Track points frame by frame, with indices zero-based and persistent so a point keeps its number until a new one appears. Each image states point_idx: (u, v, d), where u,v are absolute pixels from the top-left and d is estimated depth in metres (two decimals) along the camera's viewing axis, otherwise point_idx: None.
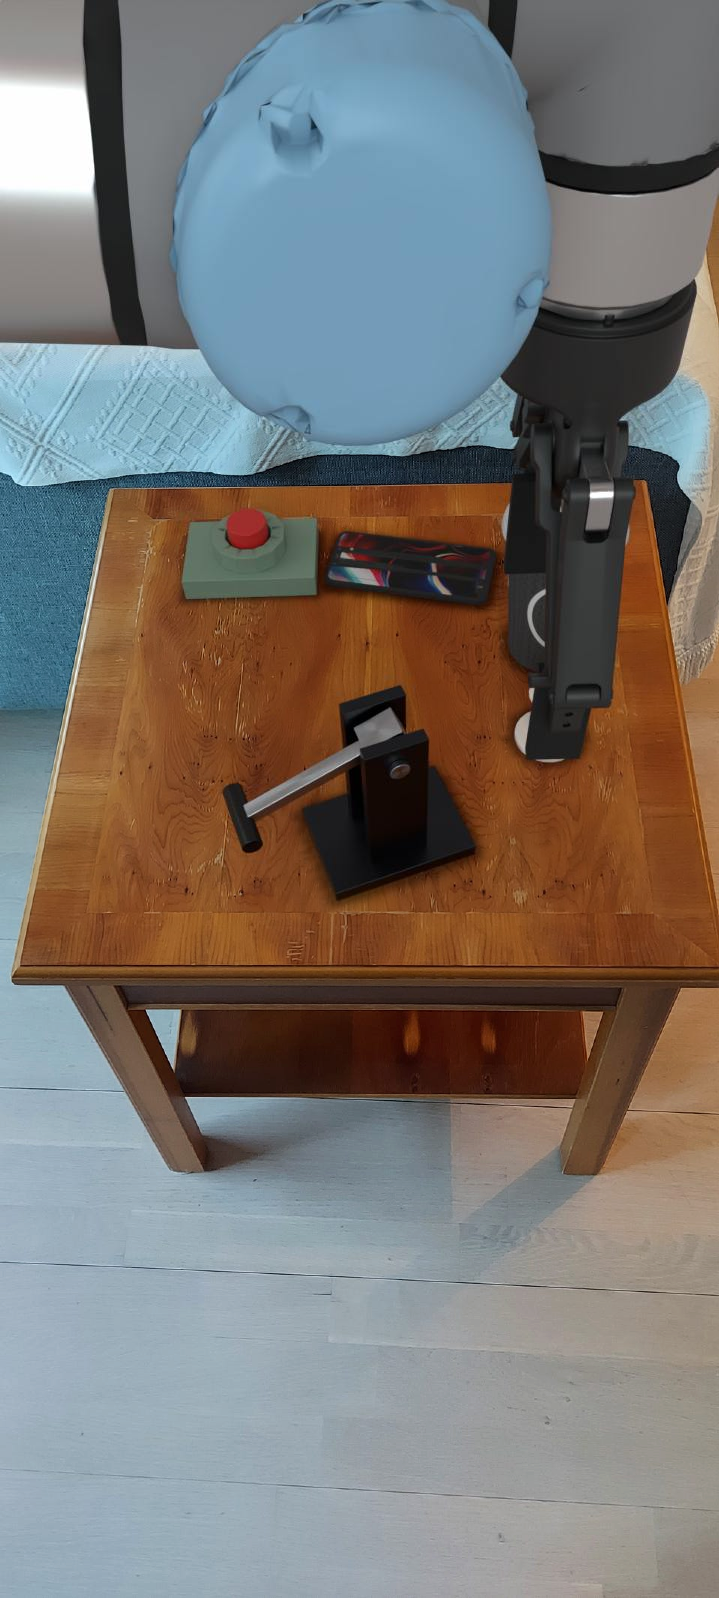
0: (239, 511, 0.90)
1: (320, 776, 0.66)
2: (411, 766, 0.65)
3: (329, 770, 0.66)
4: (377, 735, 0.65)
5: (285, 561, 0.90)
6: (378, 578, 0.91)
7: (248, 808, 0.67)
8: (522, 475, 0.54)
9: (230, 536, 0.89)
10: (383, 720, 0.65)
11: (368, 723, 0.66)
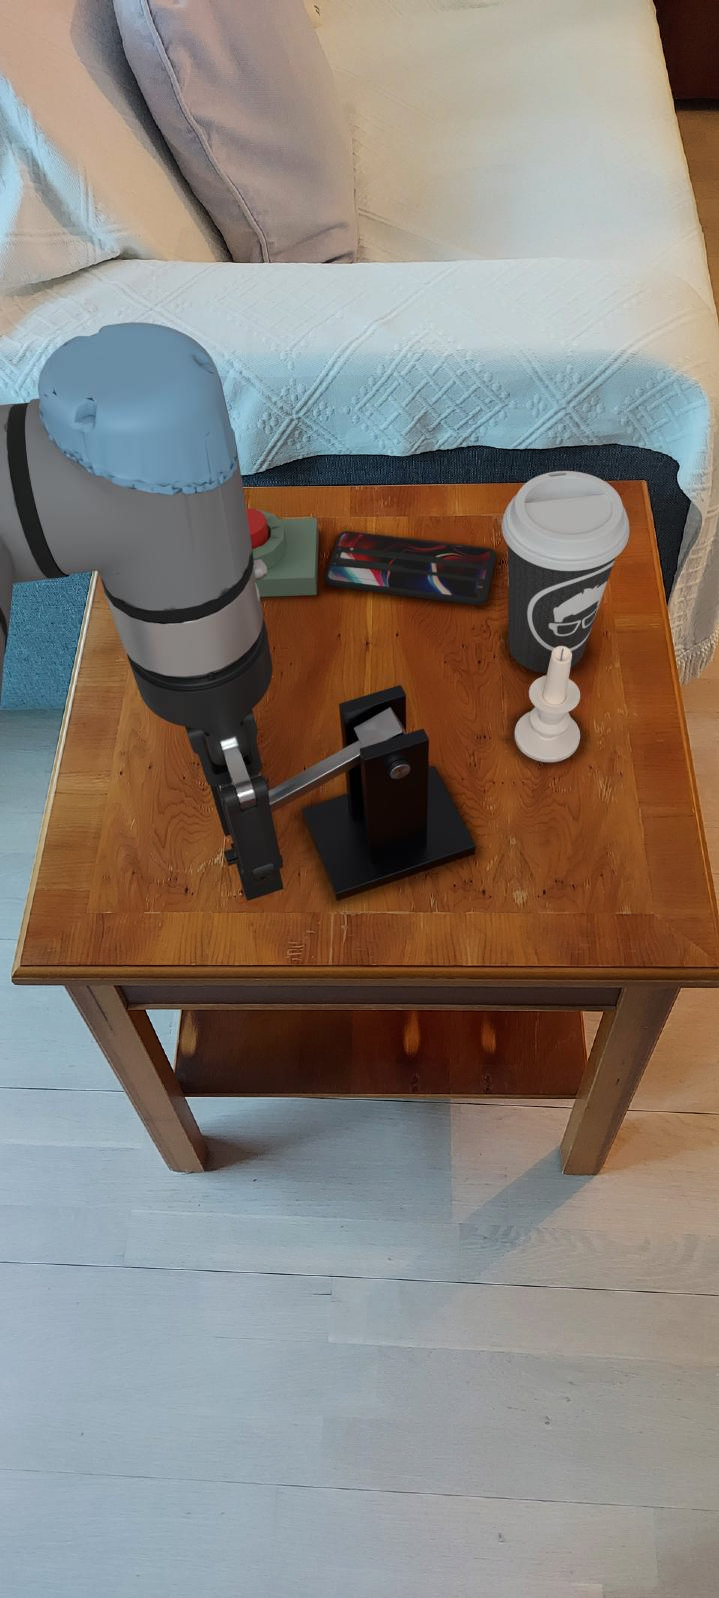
0: None
1: (320, 776, 0.66)
2: (411, 766, 0.65)
3: (329, 770, 0.66)
4: (377, 735, 0.65)
5: (285, 561, 0.90)
6: (378, 578, 0.91)
7: None
8: None
9: None
10: (383, 720, 0.65)
11: (368, 723, 0.66)
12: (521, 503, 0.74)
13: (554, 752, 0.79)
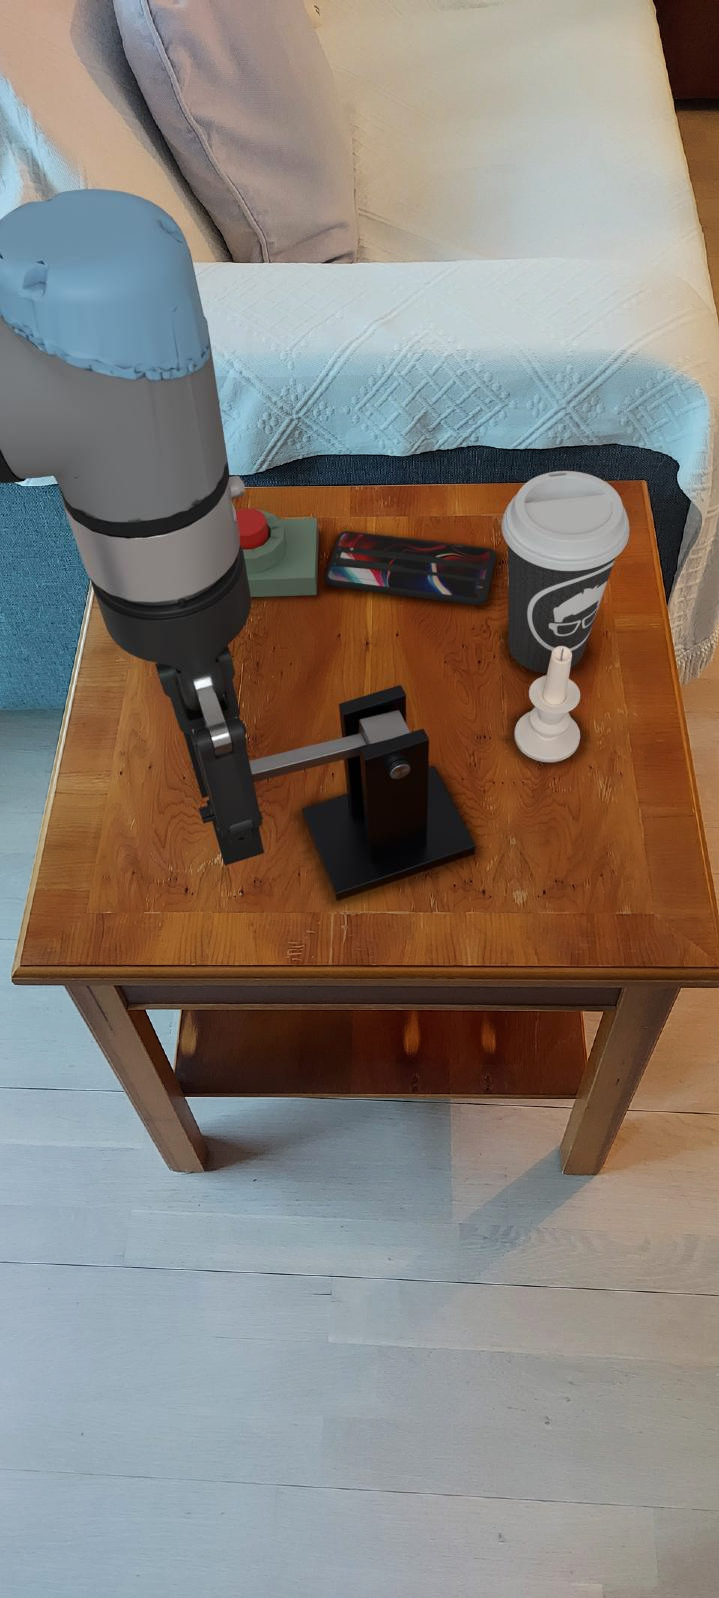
0: (239, 511, 0.90)
1: (316, 757, 0.64)
2: (411, 766, 0.65)
3: (327, 753, 0.64)
4: (384, 731, 0.65)
5: (285, 561, 0.90)
6: (378, 578, 0.91)
7: None
8: None
9: None
10: (391, 719, 0.65)
11: (375, 719, 0.65)
12: (521, 503, 0.74)
13: (554, 752, 0.79)
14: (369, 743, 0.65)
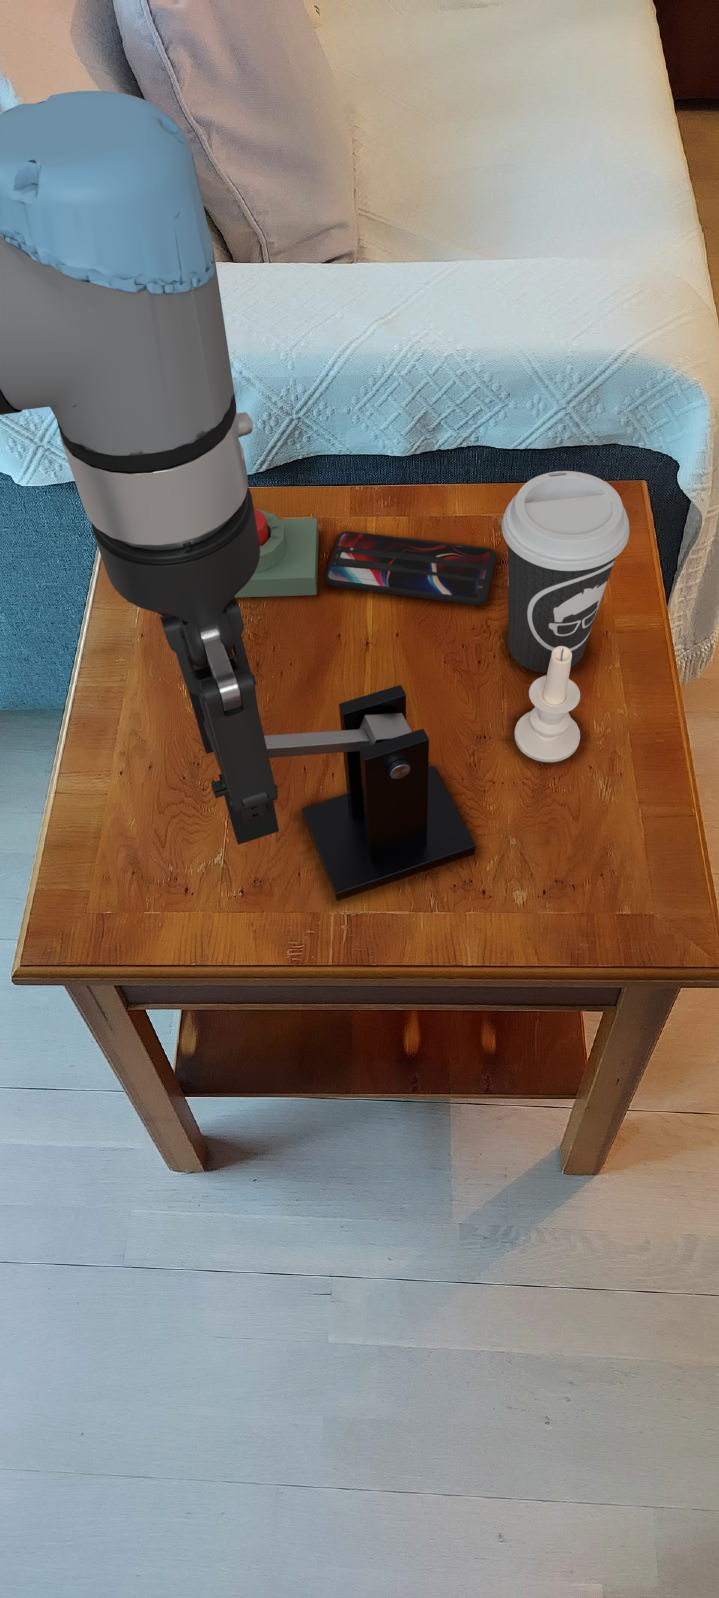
0: None
1: (321, 744, 0.63)
2: (411, 766, 0.65)
3: (331, 742, 0.64)
4: (389, 730, 0.65)
5: (285, 561, 0.90)
6: (378, 578, 0.91)
7: None
8: None
9: None
10: (395, 720, 0.66)
11: (380, 717, 0.66)
12: (521, 503, 0.74)
13: (554, 752, 0.79)
14: (373, 739, 0.64)
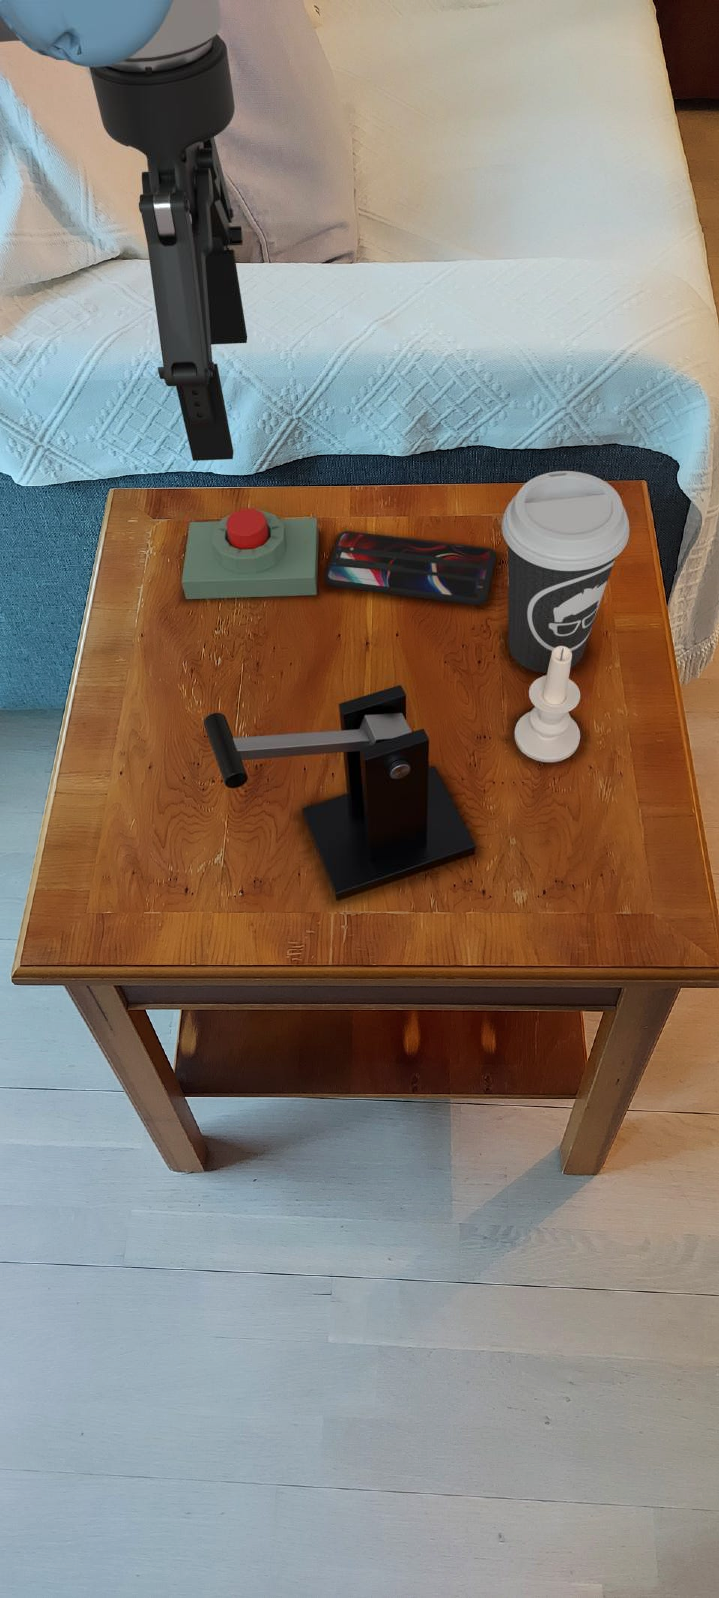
0: (239, 511, 0.90)
1: (321, 744, 0.63)
2: (411, 766, 0.65)
3: (331, 742, 0.64)
4: (389, 730, 0.65)
5: (285, 561, 0.90)
6: (378, 578, 0.91)
7: (238, 743, 0.61)
8: None
9: (230, 536, 0.89)
10: (395, 720, 0.66)
11: (380, 717, 0.66)
12: (521, 503, 0.74)
13: (554, 752, 0.79)
14: (373, 739, 0.64)
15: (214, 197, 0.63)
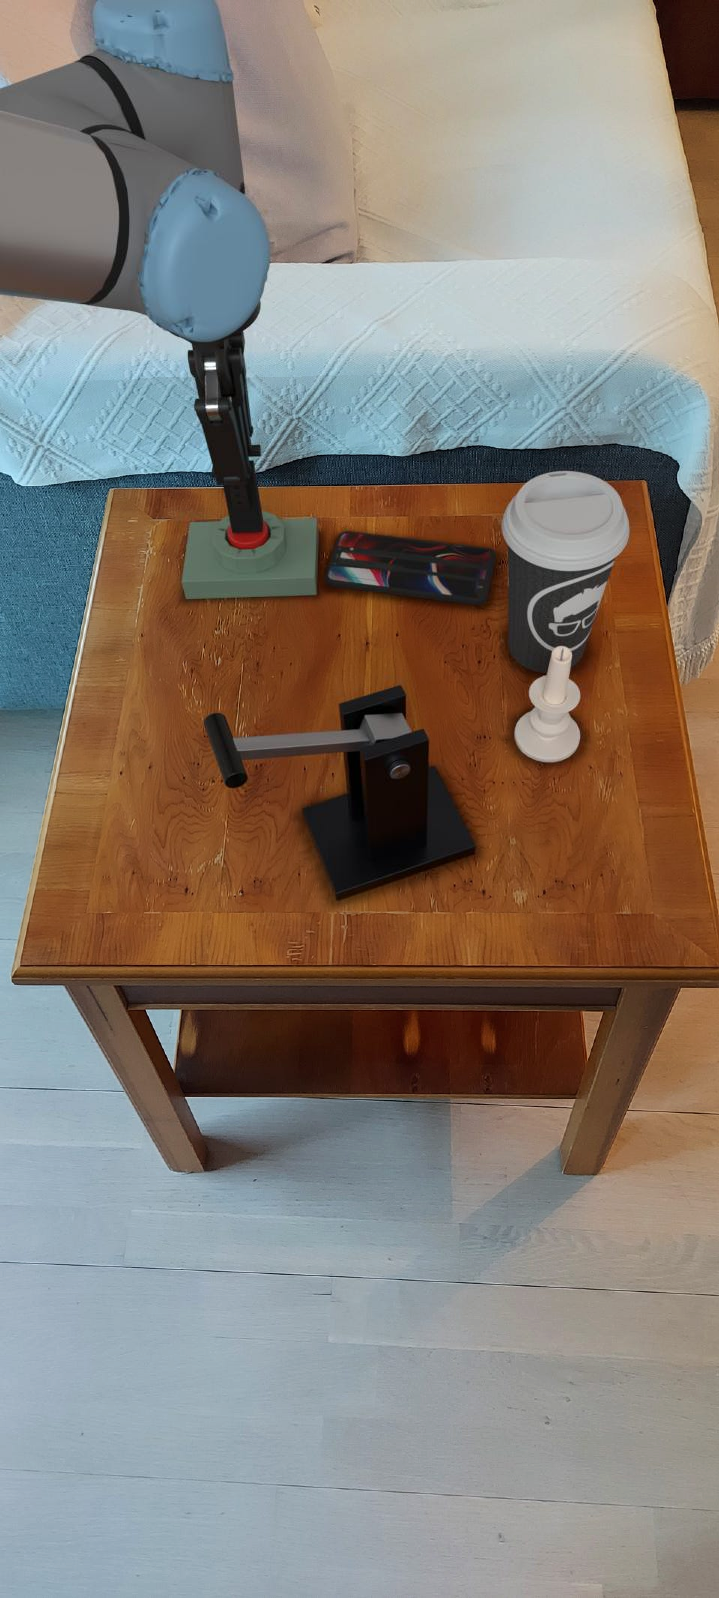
0: None
1: (321, 744, 0.63)
2: (411, 766, 0.65)
3: (331, 742, 0.64)
4: (389, 730, 0.65)
5: (285, 561, 0.90)
6: (378, 578, 0.91)
7: (238, 743, 0.61)
8: None
9: (232, 544, 0.90)
10: (395, 720, 0.66)
11: (380, 717, 0.66)
12: (521, 503, 0.74)
13: (554, 752, 0.79)
14: (373, 739, 0.64)
15: None
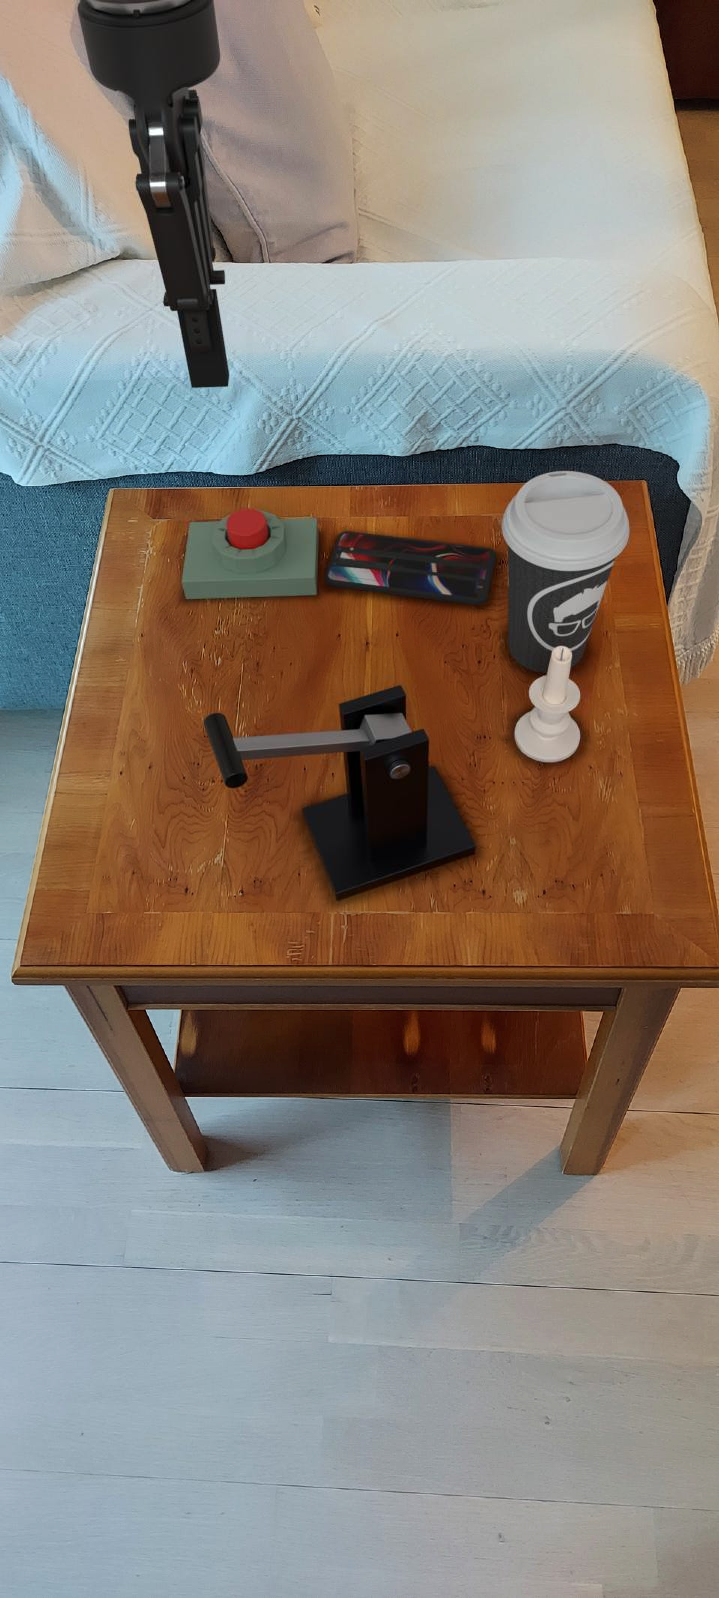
0: (239, 511, 0.90)
1: (321, 744, 0.63)
2: (411, 766, 0.65)
3: (331, 742, 0.64)
4: (389, 730, 0.65)
5: (285, 561, 0.90)
6: (378, 578, 0.91)
7: (238, 743, 0.61)
8: None
9: (230, 536, 0.89)
10: (395, 720, 0.66)
11: (380, 717, 0.66)
12: (521, 503, 0.74)
13: (554, 752, 0.79)
14: (373, 739, 0.64)
15: None
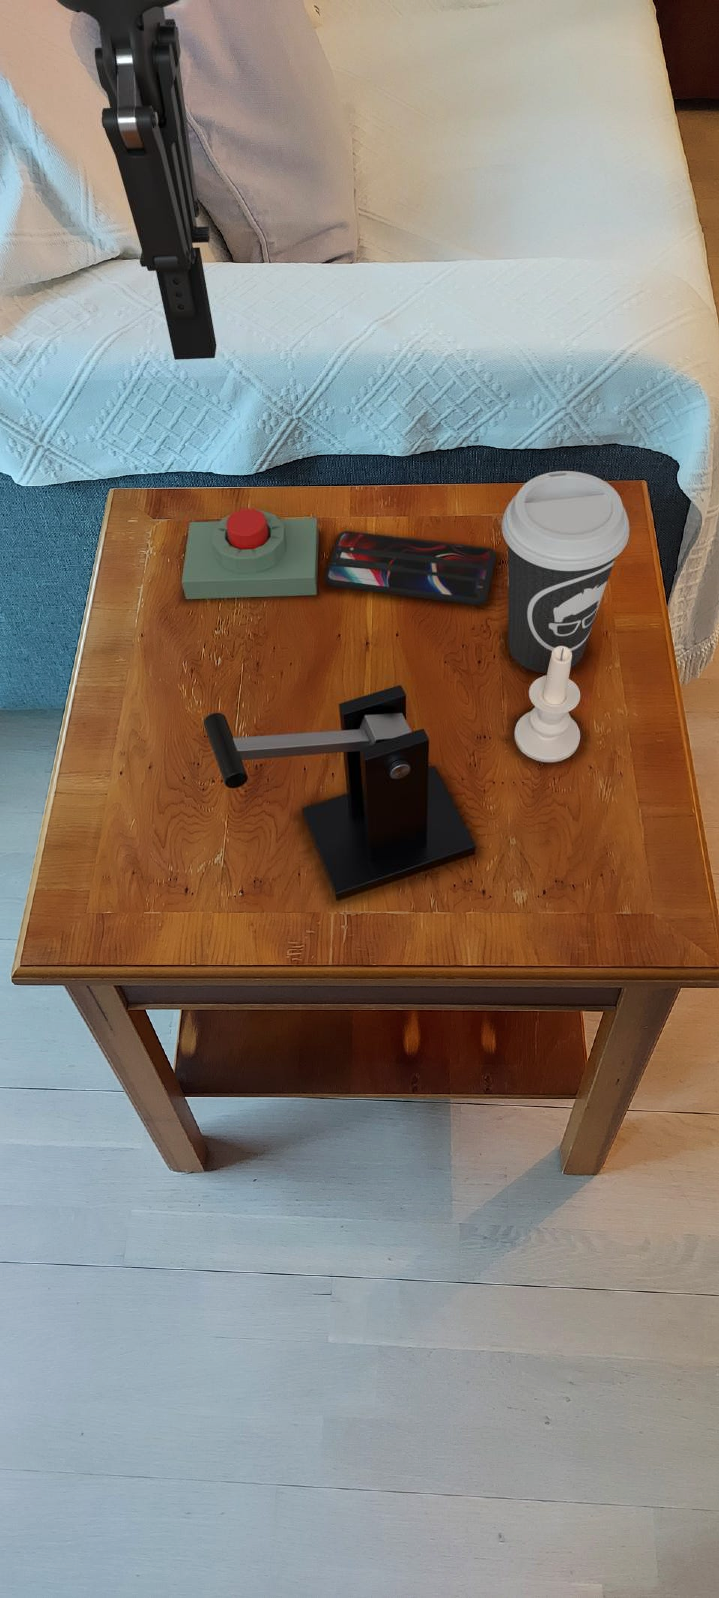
0: (239, 511, 0.90)
1: (321, 744, 0.63)
2: (411, 766, 0.65)
3: (331, 742, 0.64)
4: (389, 730, 0.65)
5: (285, 561, 0.90)
6: (378, 578, 0.91)
7: (238, 743, 0.61)
8: None
9: (230, 536, 0.89)
10: (395, 720, 0.66)
11: (380, 717, 0.66)
12: (521, 503, 0.74)
13: (554, 752, 0.79)
14: (373, 739, 0.64)
15: None
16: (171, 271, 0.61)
